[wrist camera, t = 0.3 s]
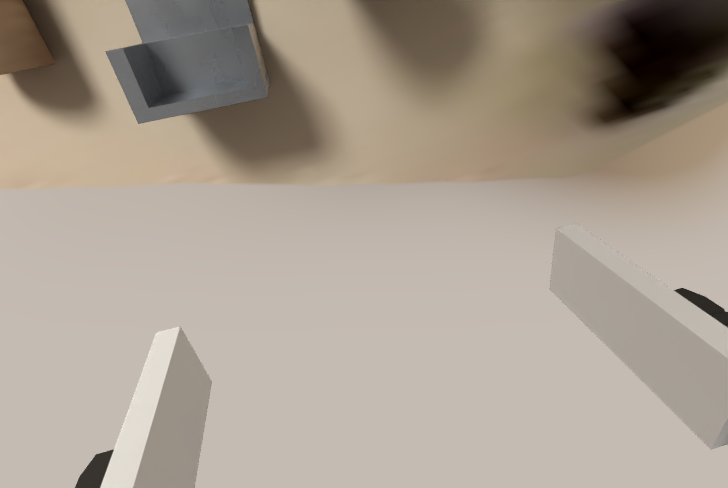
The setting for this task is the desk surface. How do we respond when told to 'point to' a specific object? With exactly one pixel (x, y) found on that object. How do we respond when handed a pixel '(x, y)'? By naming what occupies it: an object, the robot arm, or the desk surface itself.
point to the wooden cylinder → (20, 39)
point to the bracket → (190, 58)
